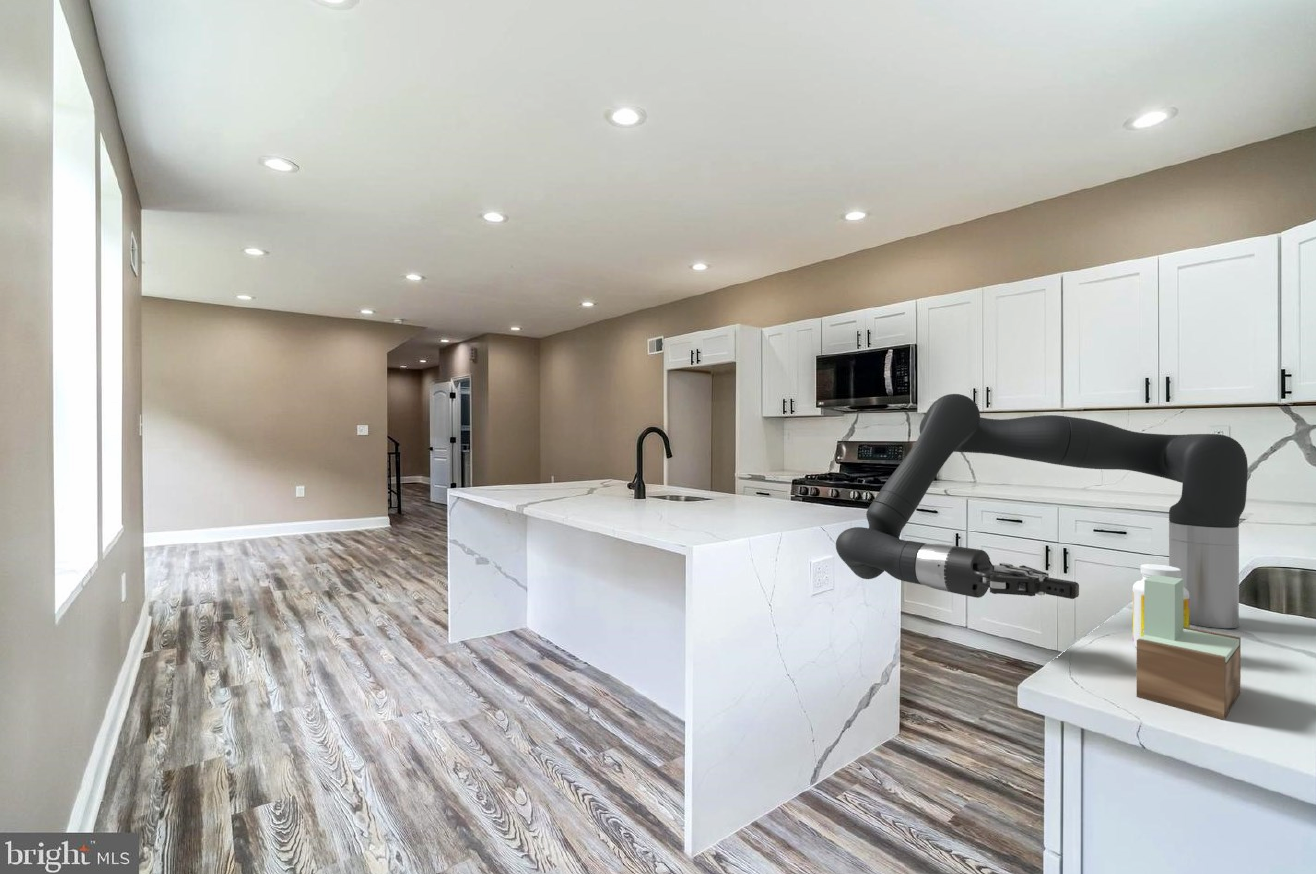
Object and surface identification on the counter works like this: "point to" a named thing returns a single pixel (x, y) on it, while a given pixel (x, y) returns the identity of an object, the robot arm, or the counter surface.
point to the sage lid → (1177, 620)
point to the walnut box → (1188, 677)
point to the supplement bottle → (1138, 597)
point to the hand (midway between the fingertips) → (1077, 591)
